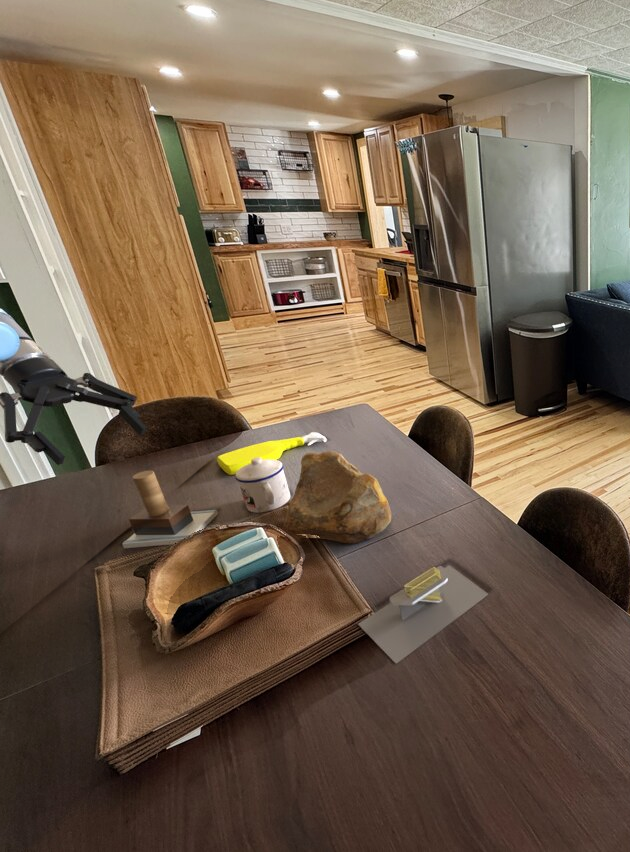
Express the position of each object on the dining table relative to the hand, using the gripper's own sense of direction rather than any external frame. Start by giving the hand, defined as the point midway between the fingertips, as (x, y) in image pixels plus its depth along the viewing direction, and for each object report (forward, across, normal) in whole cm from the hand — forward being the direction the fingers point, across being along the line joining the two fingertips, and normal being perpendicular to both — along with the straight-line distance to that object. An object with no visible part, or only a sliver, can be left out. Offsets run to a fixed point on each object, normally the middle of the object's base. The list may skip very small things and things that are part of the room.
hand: (105, 445), depth 97 cm
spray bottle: (+14, -32, -12) cm, 37 cm away
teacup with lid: (+29, -14, +2) cm, 32 cm away
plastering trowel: (+67, 0, +40) cm, 78 cm away
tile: (+21, 0, -6) cm, 22 cm away
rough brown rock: (+44, -12, +17) cm, 48 cm away
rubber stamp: (+20, 0, -5) cm, 20 cm away
